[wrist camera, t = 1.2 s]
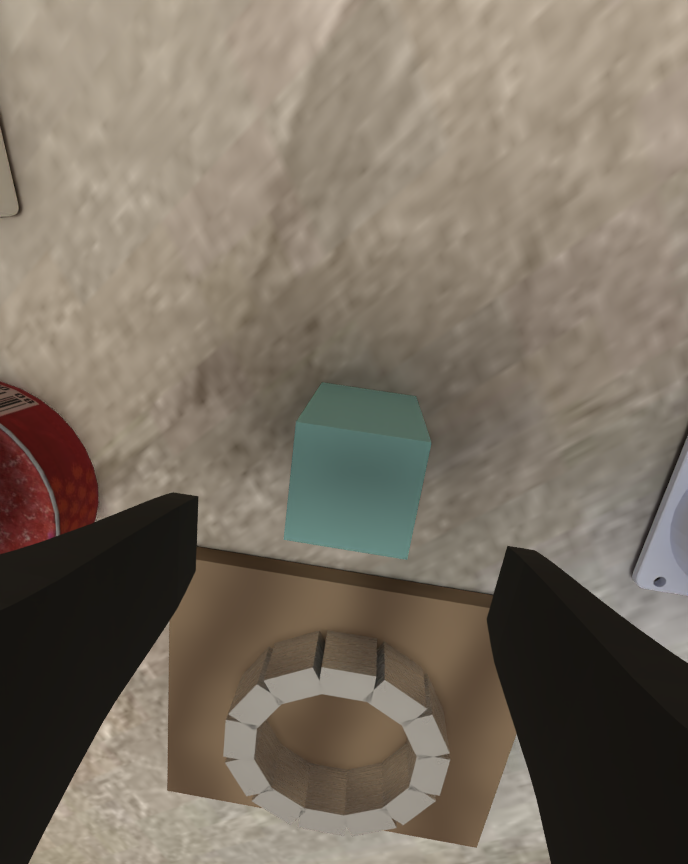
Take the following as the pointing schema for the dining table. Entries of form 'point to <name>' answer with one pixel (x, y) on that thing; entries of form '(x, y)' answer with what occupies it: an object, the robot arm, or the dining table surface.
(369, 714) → the walnut board
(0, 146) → the container
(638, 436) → the dining table surface
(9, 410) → the canned food
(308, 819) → the steel collar
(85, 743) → the robot arm
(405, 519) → the teal peg
